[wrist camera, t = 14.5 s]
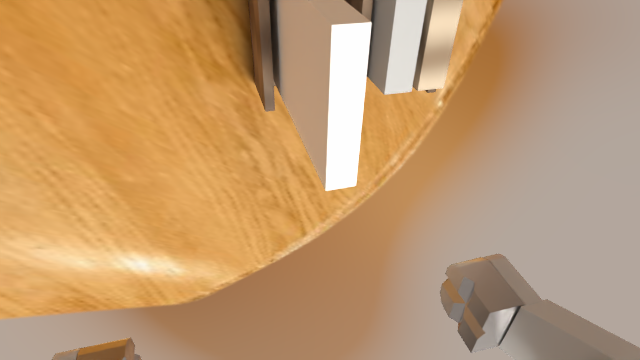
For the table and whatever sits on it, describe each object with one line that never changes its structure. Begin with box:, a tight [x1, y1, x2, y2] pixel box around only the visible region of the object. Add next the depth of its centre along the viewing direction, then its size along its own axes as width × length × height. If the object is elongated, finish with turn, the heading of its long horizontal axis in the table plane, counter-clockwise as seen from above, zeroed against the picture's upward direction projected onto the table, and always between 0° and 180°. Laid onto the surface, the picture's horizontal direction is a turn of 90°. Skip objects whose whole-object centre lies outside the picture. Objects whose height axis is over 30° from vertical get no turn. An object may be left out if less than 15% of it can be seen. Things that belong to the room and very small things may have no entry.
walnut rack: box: [248, 0, 436, 111], centre depth 43 cm, size 15×20×7 cm
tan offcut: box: [412, 0, 463, 91], centre depth 43 cm, size 10×3×10 cm, turn 178°
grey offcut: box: [367, 0, 427, 95], centre depth 42 cm, size 10×3×10 cm, turn 178°
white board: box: [269, 0, 372, 191], centre depth 35 cm, size 12×2×22 cm, turn 178°
